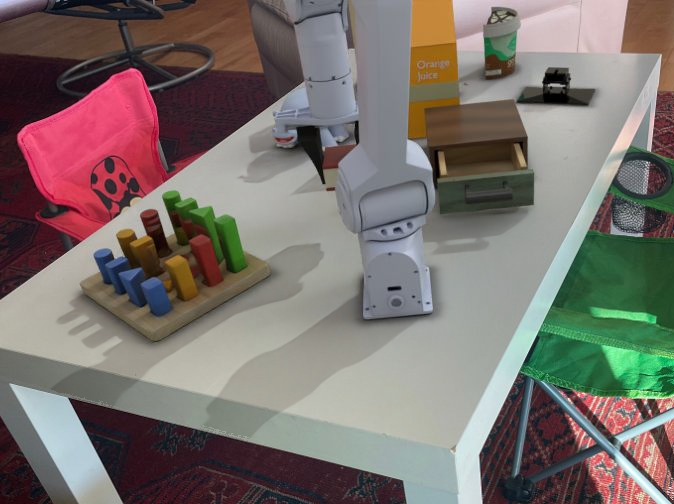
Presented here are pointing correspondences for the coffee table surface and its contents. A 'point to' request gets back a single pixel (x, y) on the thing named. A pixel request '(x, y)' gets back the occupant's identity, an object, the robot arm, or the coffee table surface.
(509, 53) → the food container
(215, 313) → the coffee table surface
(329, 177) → the book
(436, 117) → the cabinet
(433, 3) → the orange juice
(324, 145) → the hippopotamus toy
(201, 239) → the peg board
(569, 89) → the build plate
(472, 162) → the drawer
